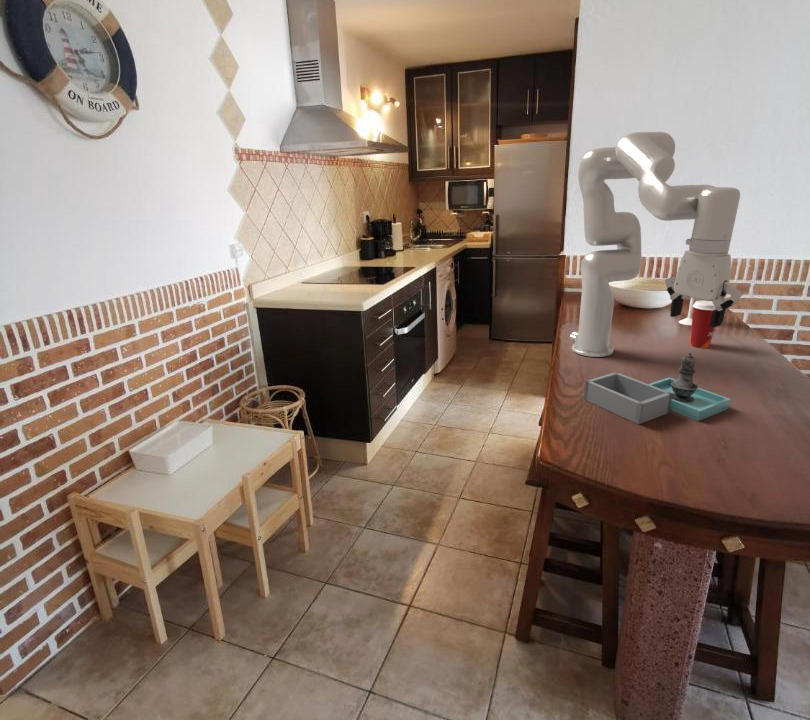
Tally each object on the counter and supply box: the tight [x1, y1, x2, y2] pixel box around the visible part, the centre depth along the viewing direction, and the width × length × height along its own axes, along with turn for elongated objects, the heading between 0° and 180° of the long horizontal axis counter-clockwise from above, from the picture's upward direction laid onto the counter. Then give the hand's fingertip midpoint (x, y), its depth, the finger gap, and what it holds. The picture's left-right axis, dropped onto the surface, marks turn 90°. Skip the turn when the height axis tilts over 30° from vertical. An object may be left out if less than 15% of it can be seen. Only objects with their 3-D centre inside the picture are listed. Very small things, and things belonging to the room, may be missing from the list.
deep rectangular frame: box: [583, 371, 673, 425], centre depth 121 cm, size 16×11×5 cm
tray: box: [648, 377, 732, 422], centre depth 122 cm, size 16×12×2 cm
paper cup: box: [689, 300, 716, 349], centre depth 158 cm, size 8×8×14 cm
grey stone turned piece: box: [671, 352, 699, 403], centre depth 120 cm, size 6×6×12 cm
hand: (694, 320), depth 116 cm, fingers open, 9 cm apart
